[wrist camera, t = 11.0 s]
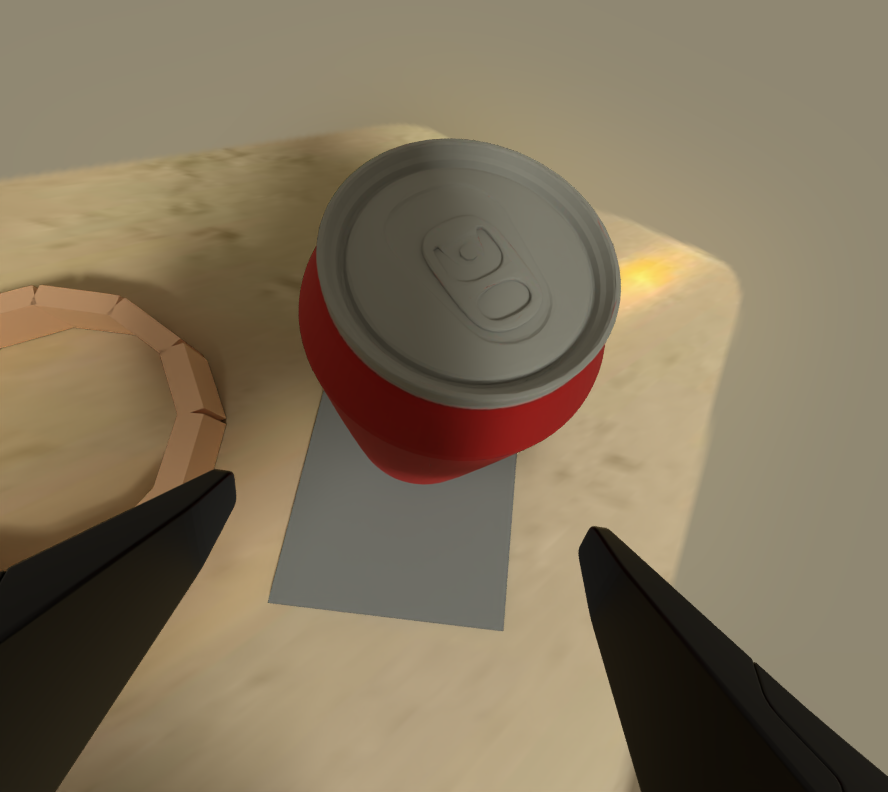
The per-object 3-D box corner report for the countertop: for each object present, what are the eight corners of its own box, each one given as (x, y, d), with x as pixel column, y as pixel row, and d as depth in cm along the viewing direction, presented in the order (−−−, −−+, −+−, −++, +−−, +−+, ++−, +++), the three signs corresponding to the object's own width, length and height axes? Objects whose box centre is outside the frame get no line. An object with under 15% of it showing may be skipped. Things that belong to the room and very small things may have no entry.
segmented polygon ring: (282, 413, 17) (267, 402, 15) (31, 689, 13) (-33, 722, 11) (81, 266, 18) (43, 237, 16) (-214, 480, 14) (-314, 477, 12)
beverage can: (441, 333, 19) (511, 75, 7) (515, 436, 18) (731, 317, 6) (328, 396, 17) (192, 180, 6) (402, 515, 16) (419, 550, 4)
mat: (501, 629, 15) (503, 631, 15) (270, 600, 14) (267, 603, 14) (527, 285, 21) (529, 282, 21) (361, 251, 20) (361, 247, 20)
